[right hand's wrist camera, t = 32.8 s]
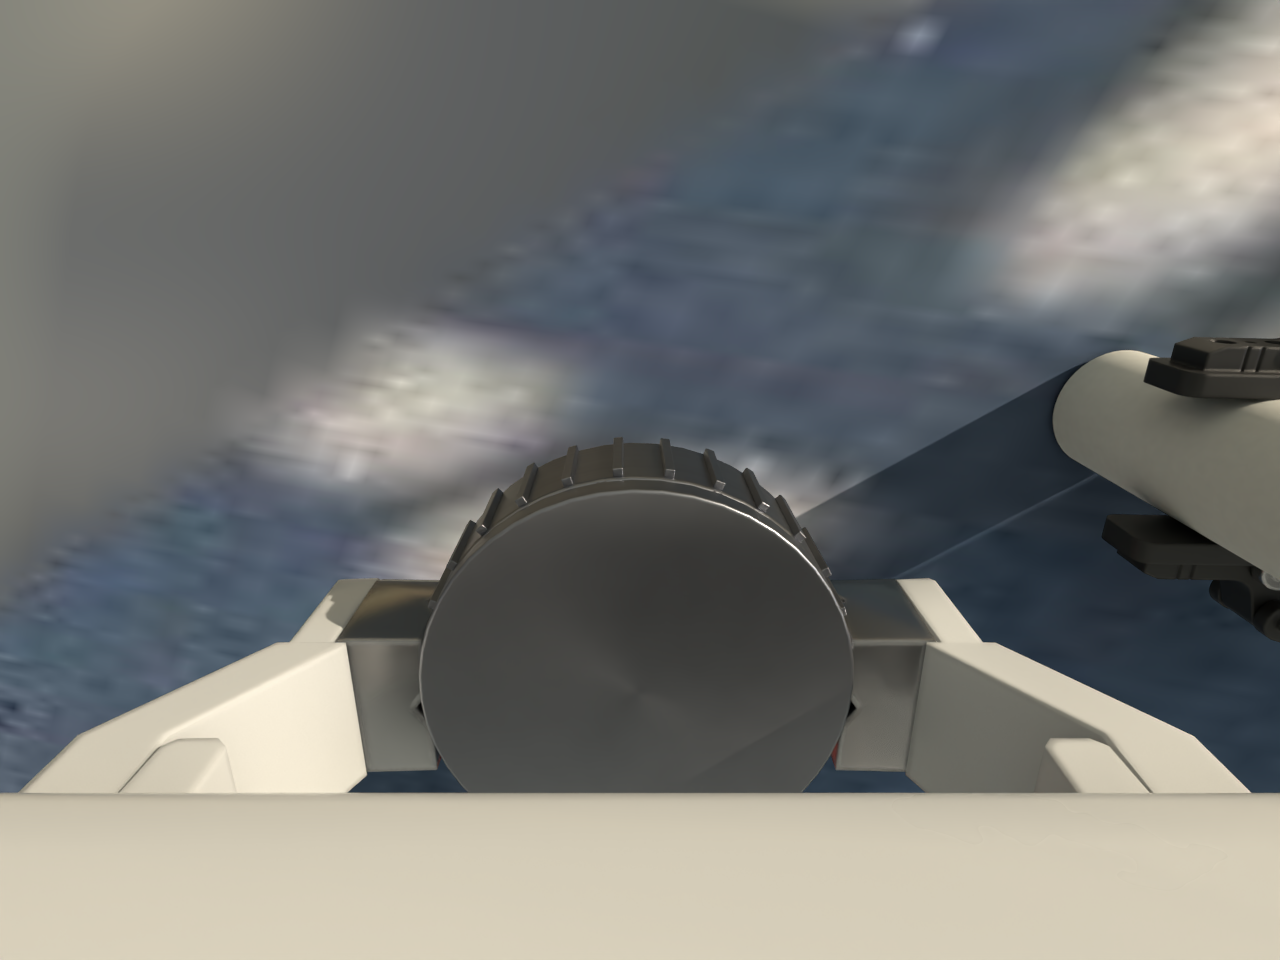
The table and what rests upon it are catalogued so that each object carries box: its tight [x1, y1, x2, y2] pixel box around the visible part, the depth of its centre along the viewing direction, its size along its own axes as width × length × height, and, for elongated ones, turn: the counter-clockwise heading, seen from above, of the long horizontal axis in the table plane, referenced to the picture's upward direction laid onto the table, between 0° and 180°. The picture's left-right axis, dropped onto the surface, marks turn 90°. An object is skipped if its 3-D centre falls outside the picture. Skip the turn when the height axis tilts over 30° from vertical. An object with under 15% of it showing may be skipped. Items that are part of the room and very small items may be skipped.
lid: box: [419, 437, 854, 793], centre depth 9 cm, size 5×5×2 cm
